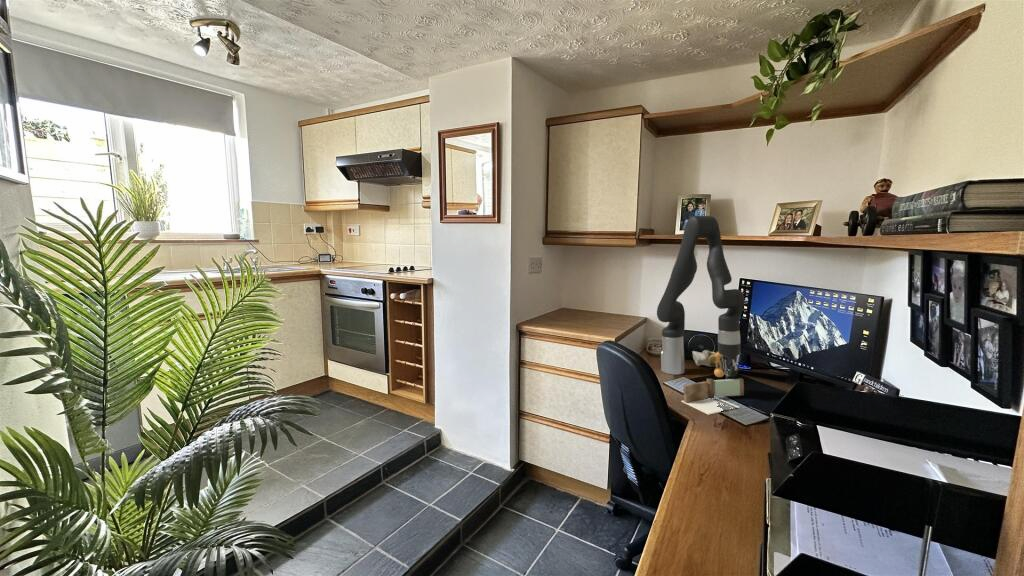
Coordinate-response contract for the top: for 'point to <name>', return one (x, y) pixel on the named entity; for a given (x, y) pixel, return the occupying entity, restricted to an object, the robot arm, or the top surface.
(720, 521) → the top surface
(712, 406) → the card
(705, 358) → the ceramic sculpture
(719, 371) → the figurine
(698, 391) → the fence post and fixed panel
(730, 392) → the panel
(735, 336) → the robot arm
